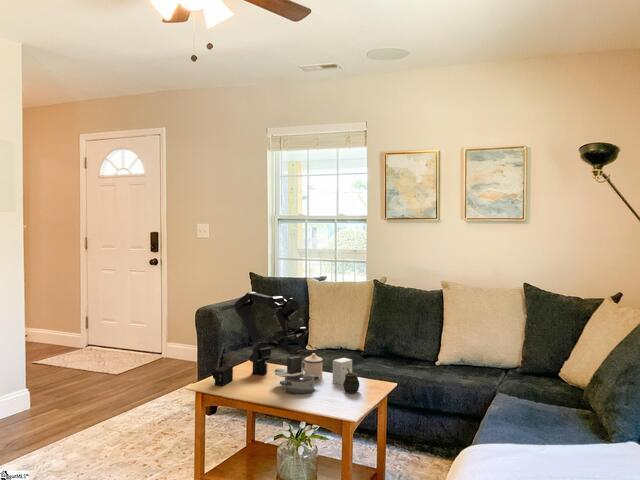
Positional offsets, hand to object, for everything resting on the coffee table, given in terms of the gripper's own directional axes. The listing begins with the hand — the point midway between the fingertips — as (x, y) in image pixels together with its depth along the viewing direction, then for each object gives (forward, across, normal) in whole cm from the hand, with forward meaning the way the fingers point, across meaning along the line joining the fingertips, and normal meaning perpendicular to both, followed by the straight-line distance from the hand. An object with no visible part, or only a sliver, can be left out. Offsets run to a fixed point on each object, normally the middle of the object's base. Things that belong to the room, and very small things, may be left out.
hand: (297, 350), depth 253 cm
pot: (+17, -5, +3) cm, 18 cm away
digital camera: (-2, -22, +31) cm, 38 cm away
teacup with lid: (+11, +14, +12) cm, 21 cm away
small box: (+20, +18, -1) cm, 27 cm away
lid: (+7, -4, +7) cm, 11 cm away
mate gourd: (+27, +10, -11) cm, 31 cm away
